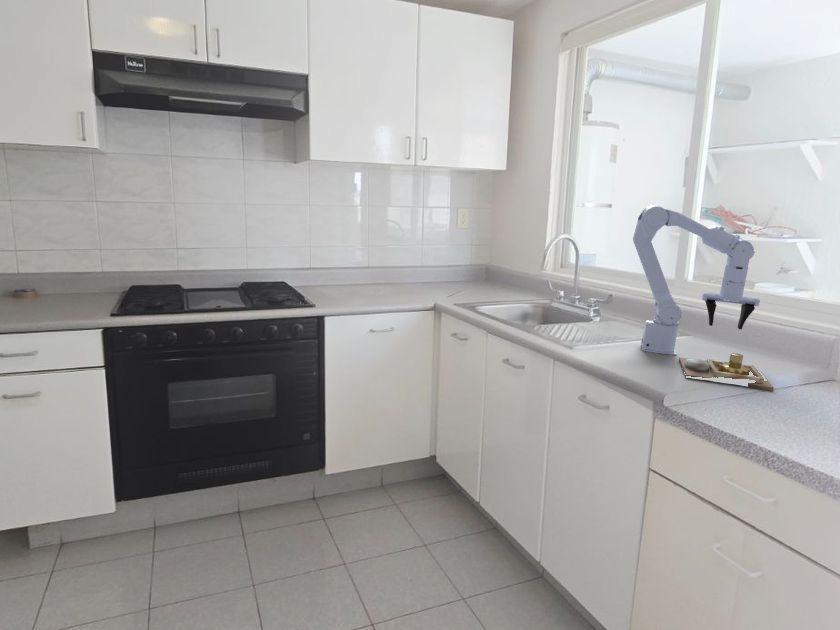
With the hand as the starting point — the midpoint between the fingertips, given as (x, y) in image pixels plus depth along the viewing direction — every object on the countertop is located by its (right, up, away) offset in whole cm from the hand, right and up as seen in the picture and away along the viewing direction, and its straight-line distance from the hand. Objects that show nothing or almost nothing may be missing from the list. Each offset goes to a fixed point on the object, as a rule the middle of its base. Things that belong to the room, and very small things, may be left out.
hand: (724, 326), depth 161 cm
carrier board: (-8, -13, -13) cm, 20 cm away
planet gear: (-6, -12, -14) cm, 20 cm away
